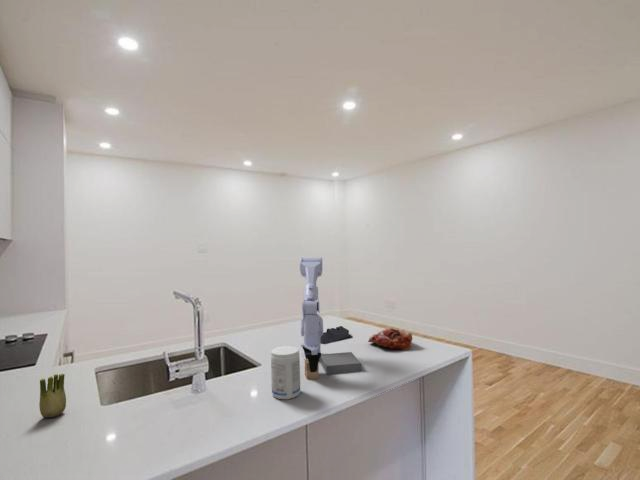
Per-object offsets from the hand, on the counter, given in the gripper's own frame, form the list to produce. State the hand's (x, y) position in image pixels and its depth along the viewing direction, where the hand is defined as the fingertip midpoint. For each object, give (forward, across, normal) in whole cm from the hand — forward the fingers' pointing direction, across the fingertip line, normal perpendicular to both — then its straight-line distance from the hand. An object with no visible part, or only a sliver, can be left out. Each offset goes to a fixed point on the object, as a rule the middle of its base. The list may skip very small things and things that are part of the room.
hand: (311, 368), depth 128 cm
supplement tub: (+3, +13, -11) cm, 17 cm away
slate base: (+3, -8, +13) cm, 16 cm away
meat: (+3, -30, +44) cm, 53 cm away
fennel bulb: (+3, +12, -80) cm, 81 cm away
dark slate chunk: (+3, -50, +19) cm, 53 cm away
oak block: (+3, 0, 0) cm, 3 cm away
